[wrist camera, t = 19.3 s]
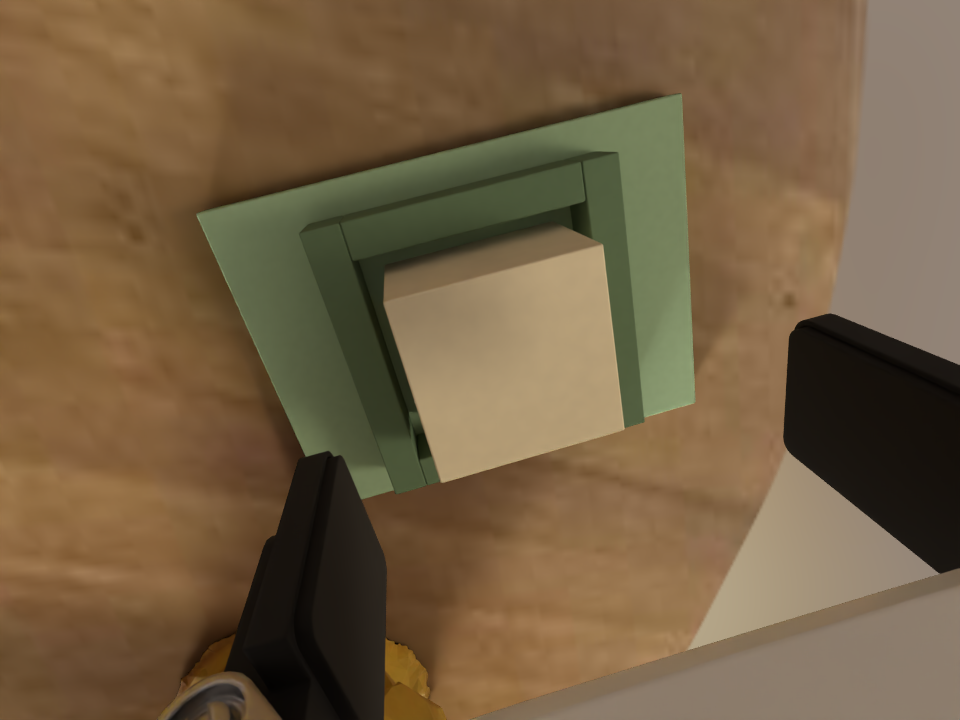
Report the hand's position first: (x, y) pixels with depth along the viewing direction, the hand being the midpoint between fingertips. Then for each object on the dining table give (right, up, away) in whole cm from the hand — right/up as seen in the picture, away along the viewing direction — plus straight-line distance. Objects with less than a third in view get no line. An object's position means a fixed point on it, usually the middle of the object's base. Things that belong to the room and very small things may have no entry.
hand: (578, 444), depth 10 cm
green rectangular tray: (-2, +3, +9) cm, 10 cm away
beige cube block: (-2, +3, +8) cm, 9 cm away
